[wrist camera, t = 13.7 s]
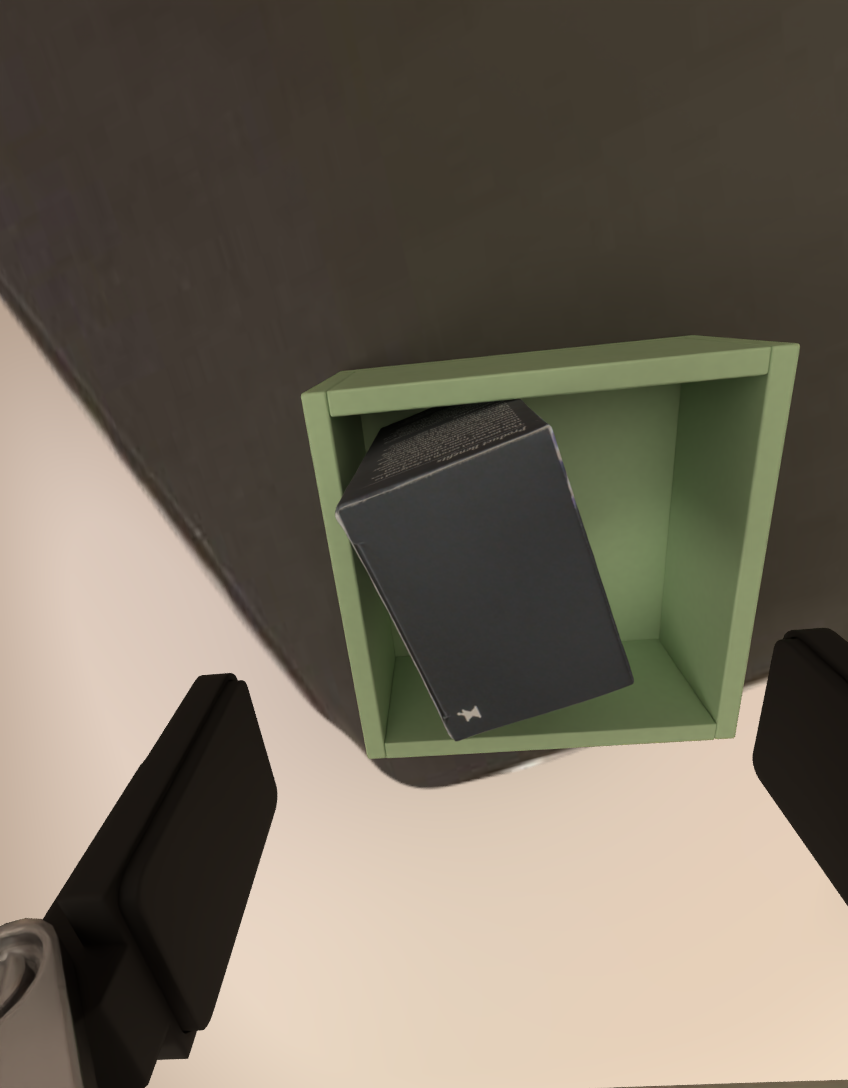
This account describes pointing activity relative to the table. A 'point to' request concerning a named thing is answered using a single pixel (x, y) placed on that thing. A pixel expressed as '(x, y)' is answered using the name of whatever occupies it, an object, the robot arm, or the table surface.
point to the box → (484, 564)
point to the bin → (593, 525)
